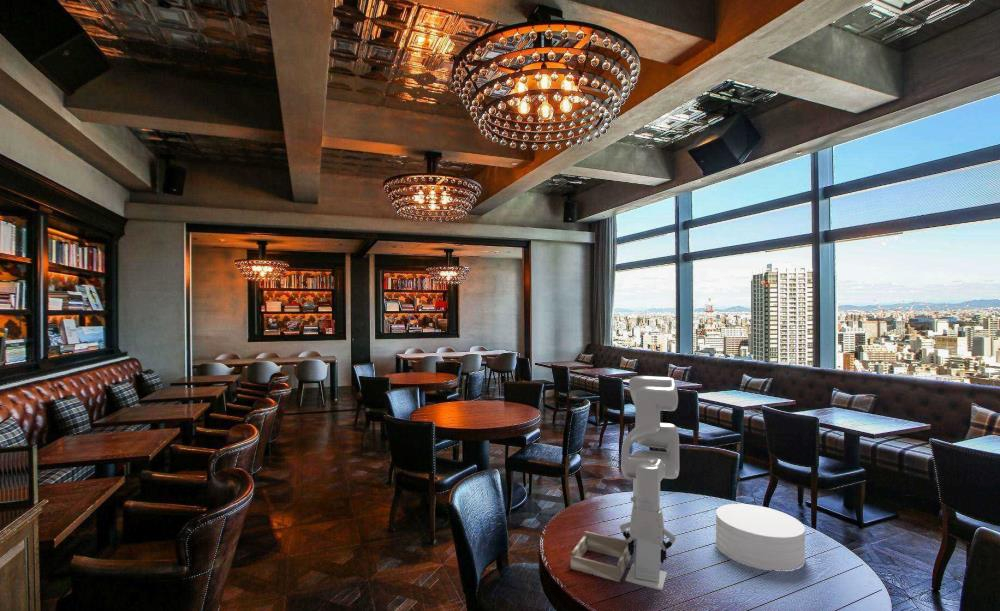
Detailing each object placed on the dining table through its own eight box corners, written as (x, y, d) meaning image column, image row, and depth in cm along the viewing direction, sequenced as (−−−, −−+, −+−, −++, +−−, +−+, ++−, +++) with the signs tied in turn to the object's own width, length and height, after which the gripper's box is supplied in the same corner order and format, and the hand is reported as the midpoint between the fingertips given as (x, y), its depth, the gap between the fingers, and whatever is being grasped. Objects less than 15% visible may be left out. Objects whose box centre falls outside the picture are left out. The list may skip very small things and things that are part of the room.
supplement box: (659, 582, 148) (661, 541, 149) (634, 578, 150) (636, 537, 151) (658, 571, 156) (660, 531, 156) (634, 566, 158) (636, 528, 158)
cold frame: (585, 547, 171) (585, 530, 171) (630, 559, 164) (630, 541, 164) (570, 568, 157) (570, 550, 157) (619, 581, 150) (619, 562, 150)
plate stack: (719, 527, 191) (719, 498, 191) (802, 545, 177) (803, 514, 177) (711, 557, 166) (711, 524, 166) (807, 581, 152) (807, 545, 153)
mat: (632, 564, 160) (632, 563, 160) (667, 573, 155) (667, 571, 155) (625, 580, 150) (625, 579, 150) (661, 590, 145) (661, 589, 145)
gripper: (617, 502, 154) (616, 556, 154) (674, 513, 146) (673, 570, 146) (623, 494, 161) (622, 546, 160) (677, 504, 153) (677, 559, 152)
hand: (646, 557), depth 153 cm, fingers open, 9 cm apart
